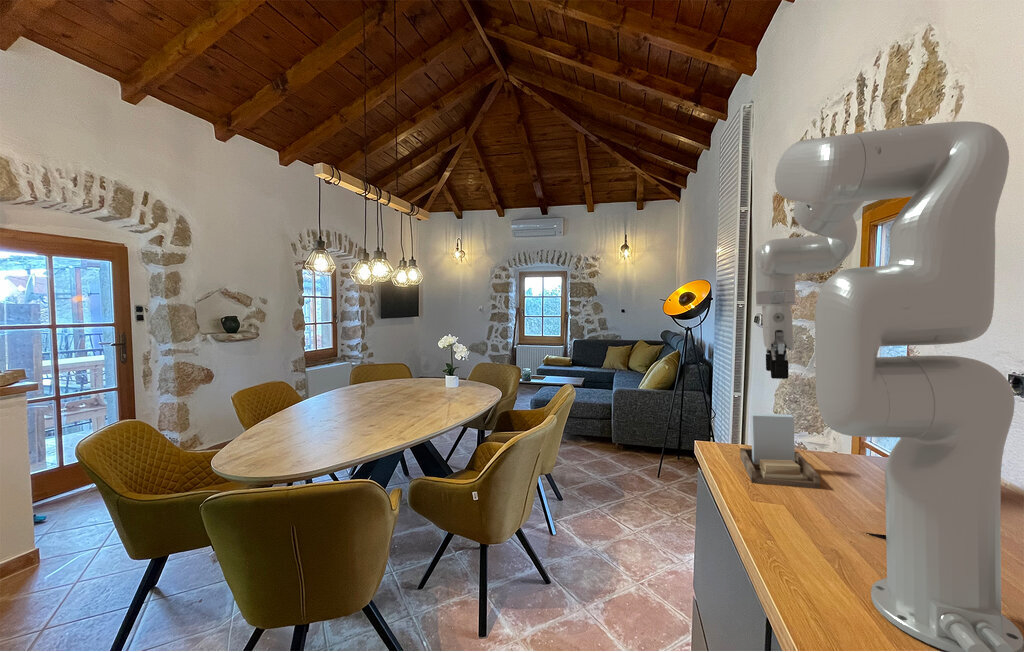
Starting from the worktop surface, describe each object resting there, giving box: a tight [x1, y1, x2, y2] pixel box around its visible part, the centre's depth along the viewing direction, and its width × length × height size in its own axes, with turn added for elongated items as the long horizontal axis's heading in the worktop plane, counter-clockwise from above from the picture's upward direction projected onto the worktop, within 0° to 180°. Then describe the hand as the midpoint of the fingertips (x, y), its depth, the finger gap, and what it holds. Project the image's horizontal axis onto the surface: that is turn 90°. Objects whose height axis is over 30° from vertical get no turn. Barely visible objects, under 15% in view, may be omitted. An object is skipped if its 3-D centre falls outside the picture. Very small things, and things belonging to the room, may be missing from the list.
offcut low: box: [761, 469, 803, 481], centre depth 89 cm, size 4×7×2 cm, turn 70°
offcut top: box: [760, 459, 800, 475], centre depth 89 cm, size 4×6×2 cm, turn 78°
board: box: [750, 412, 796, 463], centre depth 96 cm, size 2×8×12 cm, turn 69°
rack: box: [739, 447, 821, 490], centre depth 93 cm, size 15×12×4 cm
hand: (776, 374), depth 95 cm, fingers open, 9 cm apart
